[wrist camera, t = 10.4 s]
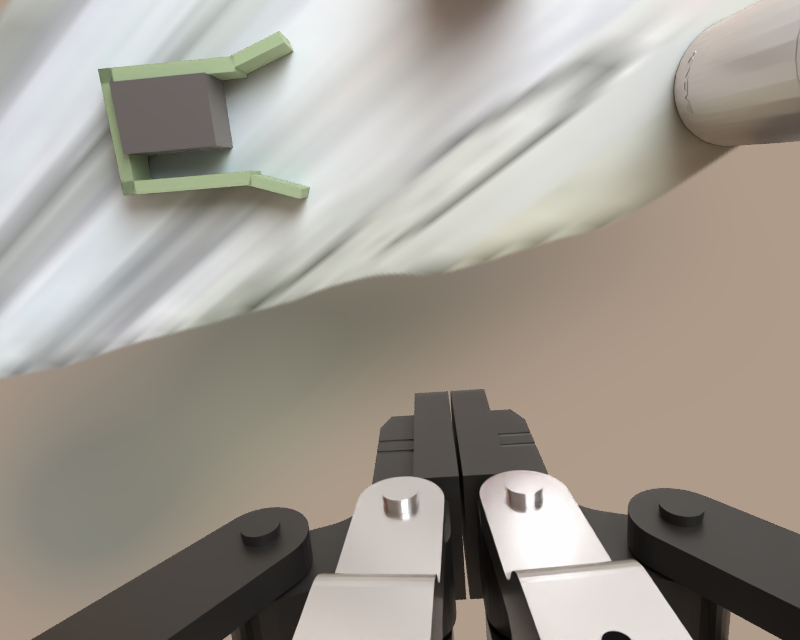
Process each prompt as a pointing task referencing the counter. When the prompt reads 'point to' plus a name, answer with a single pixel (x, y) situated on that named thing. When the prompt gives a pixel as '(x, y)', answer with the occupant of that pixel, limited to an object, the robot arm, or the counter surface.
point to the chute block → (171, 114)
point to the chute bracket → (223, 68)
